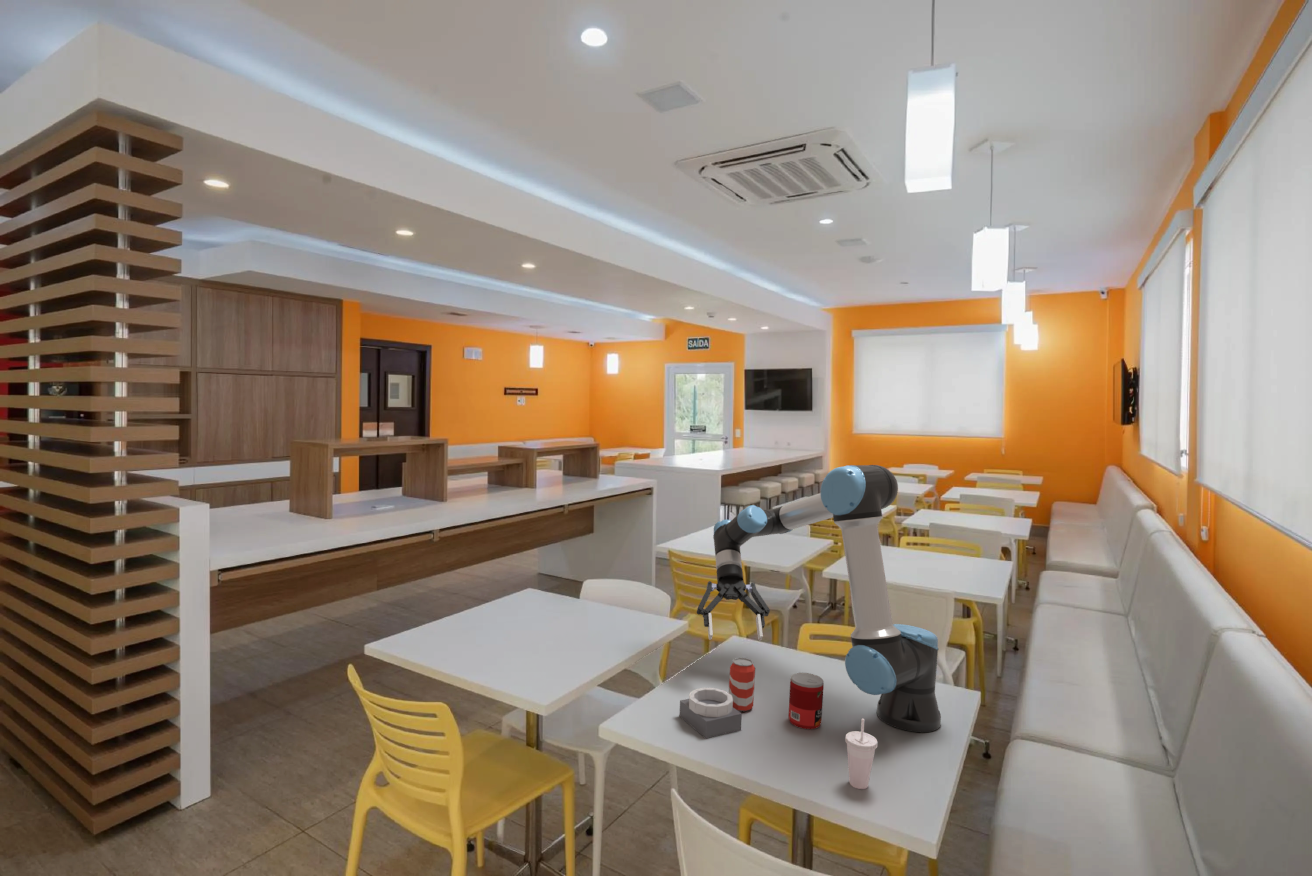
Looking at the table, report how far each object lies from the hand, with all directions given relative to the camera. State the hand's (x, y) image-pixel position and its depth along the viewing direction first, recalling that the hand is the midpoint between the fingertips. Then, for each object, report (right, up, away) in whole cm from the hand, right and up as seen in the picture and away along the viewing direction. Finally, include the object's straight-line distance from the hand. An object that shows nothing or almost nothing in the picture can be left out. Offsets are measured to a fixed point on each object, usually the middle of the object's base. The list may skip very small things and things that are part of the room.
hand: (735, 638), depth 183 cm
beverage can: (0, -15, -10) cm, 18 cm away
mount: (-9, -15, -19) cm, 26 cm away
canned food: (+15, -16, -16) cm, 27 cm away
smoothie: (+20, -18, -43) cm, 51 cm away
